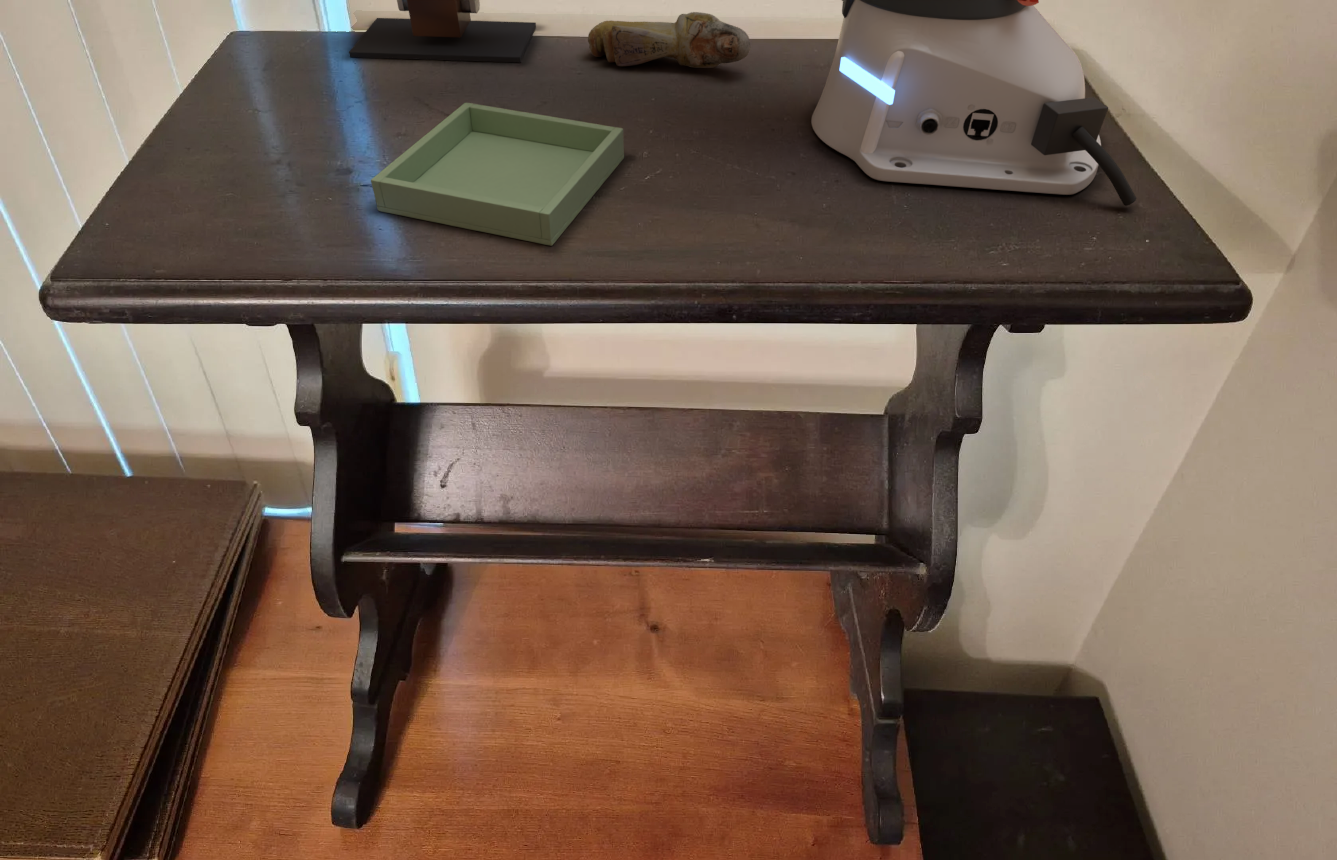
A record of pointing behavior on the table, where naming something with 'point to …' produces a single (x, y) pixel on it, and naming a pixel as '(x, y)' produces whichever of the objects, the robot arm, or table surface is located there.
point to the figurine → (670, 41)
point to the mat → (446, 42)
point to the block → (437, 18)
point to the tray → (501, 172)
